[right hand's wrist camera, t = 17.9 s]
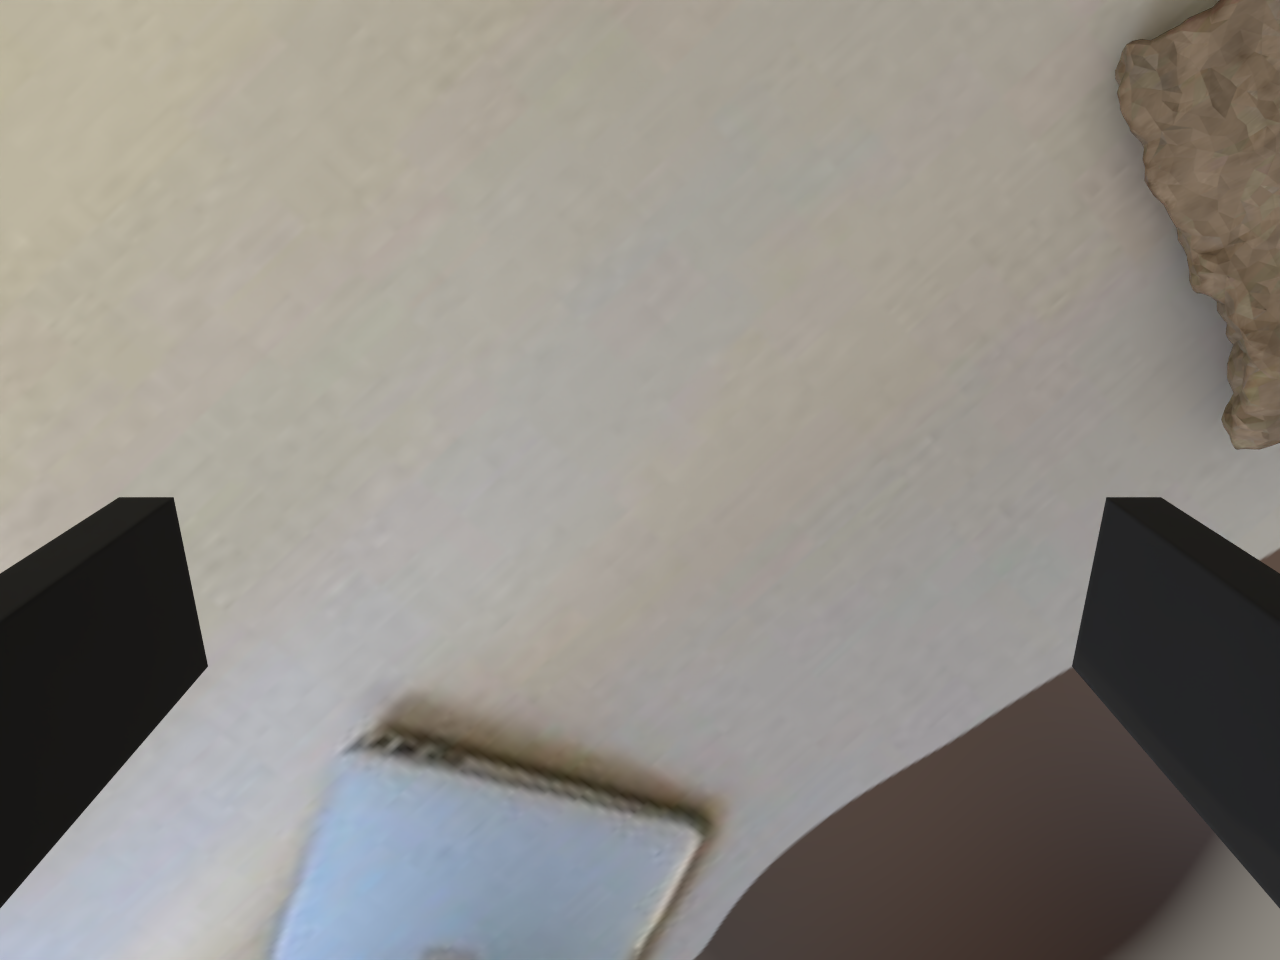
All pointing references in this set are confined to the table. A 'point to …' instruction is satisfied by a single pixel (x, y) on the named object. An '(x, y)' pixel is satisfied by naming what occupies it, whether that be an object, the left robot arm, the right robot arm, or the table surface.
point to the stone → (1221, 181)
